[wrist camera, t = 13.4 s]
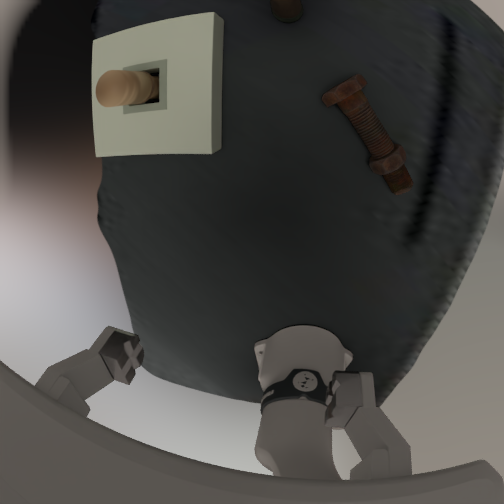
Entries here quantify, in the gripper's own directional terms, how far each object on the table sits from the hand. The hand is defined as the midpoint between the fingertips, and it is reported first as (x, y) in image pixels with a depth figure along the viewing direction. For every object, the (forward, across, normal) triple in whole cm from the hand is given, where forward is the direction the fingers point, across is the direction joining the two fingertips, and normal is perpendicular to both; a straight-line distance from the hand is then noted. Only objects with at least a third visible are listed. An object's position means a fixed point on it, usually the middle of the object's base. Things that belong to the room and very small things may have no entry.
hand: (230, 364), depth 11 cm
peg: (+29, +18, -12) cm, 36 cm away
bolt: (+30, -10, -6) cm, 32 cm away
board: (+29, +18, -12) cm, 36 cm away
